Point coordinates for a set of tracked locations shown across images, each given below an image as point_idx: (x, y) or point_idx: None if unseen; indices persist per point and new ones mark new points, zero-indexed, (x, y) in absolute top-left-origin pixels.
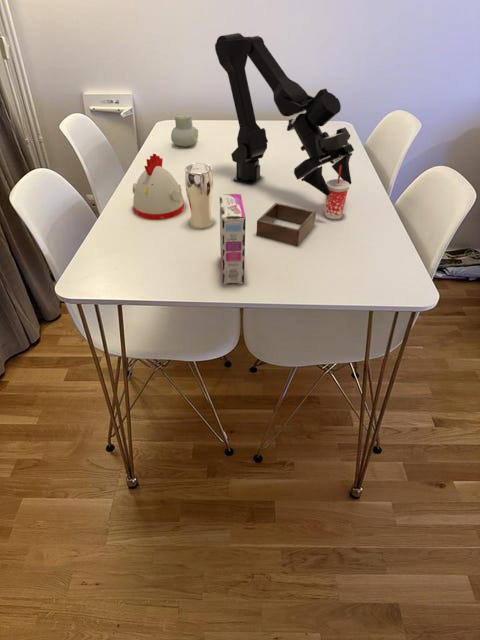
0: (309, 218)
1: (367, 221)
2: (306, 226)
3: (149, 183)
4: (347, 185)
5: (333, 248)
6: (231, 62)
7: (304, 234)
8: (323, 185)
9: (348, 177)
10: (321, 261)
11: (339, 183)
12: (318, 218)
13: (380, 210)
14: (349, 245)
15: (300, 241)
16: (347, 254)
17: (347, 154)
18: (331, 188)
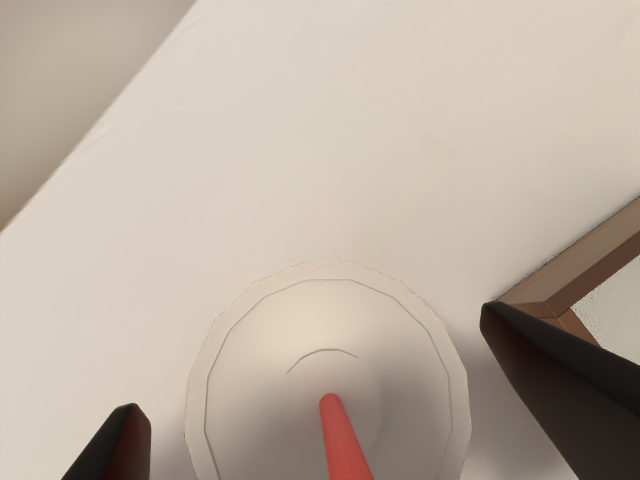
0: (627, 245)
1: (202, 209)
2: (636, 221)
3: None
4: (252, 318)
5: (508, 103)
6: None
7: (616, 221)
8: (621, 367)
9: (102, 474)
10: (602, 57)
11: (323, 387)
12: None
13: (39, 269)
14: (430, 88)
15: (638, 200)
16: (479, 45)
17: None
18: (454, 354)
